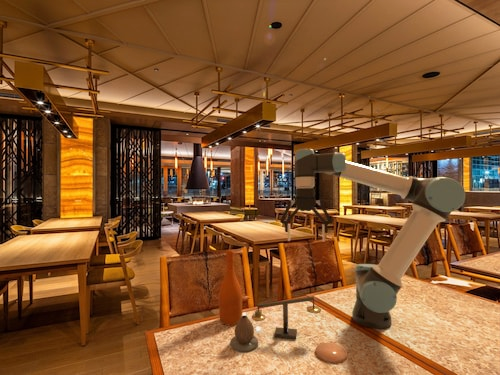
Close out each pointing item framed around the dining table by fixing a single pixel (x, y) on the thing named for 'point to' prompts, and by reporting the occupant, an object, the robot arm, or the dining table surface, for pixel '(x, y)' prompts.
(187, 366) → the dining table surface
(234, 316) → the wine bottle
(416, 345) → the dining table surface
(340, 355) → the dish
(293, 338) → the balance
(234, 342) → the dish
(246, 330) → the vase
